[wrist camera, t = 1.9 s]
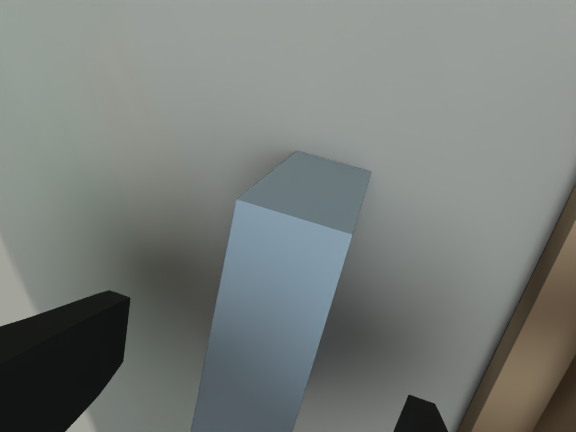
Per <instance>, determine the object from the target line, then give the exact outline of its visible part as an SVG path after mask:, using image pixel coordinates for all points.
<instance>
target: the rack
mask: <svg viewBox="0 0 576 432" xmlns="http://www.w3.org/2000/svg"><path fill="white" fill-rule="evenodd" d="M457 432H576V185H575V187H574V189H573V191H572V193H571V196H570V198H569V200H568V202H567V204H566V206H565V208H564V210H563V212H562V214H561V216H560V218H559V221H558V223H557V225H556V227H555V229H554V231H553V233H552V235H551V237H550V239H549V241H548V244H547V246H546V248H545V250H544V252H543V254H542V256H541V258H540V260H539V262H538V264H537V266H536V269H535V271H534V273H533V275H532V277H531V279H530V281H529V283H528V285H527V287H526V289H525V292H524V294H523V296H522V298H521V300H520V302H519V304H518V306H517V308H516V310H515V312H514V314H513V317H512V319H511V321H510V323H509V325H508V327H507V329H506V331H505V333H504V335H503V337H502V340H501V342H500V344H499V346H498V348H497V350H496V352H495V354H494V356H493V358H492V360H491V362H490V365H489V367H488V369H487V371H486V373H485V375H484V377H483V379H482V381H481V383H480V385H479V388H478V390H477V392H476V394H475V396H474V398H473V400H472V402H471V404H470V406H469V408H468V410H467V413H466V415H465V417H464V419H463V421H462V423H461V425H460V427H459V429H458V431H457Z"/></svg>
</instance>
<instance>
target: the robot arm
mask: <svg viewBox="0 0 576 432" xmlns="http://www.w3.org/2000/svg"><path fill="white" fill-rule="evenodd" d="M129 306H130V297H127V296H124V295H121V294H118V293H116V292H113V291H110V290H109V291H105V292H102V293H99V294H95V295H93V296H90V297H87V298H84V299H81V300H78V301H75V302H72V303H70V304H67V305H64V306H61V307H58V308H55V309H52V310H50V311H47V312H44V313H41V314H38V315H35V316H33V317H29V318H26V319H23V320H20V321H17V322H14V323H10V324H7V325H4V326H1V327H0V432H65V431H66V430H67V429H68V428H69V427H70V426H71V425H72V424H73V423H74V422H75V421H76V420H77V418H78V417H79V416H80V415H81V414H82V413H83V412H84V411H85V410H86V409H87V408H88V407H89V406H90V404H91V403H92V402H93V401H94V400H95V399H96V398H97V397H98V396H99V394H100V393H101V392H102V390H103V389H104V388H105V386H106V385H107V384H108V382H109V381H110V380H111V378H112V377H113V375H114V374H115V373H116V371H117V370H118V368H119V367H120V365H121V364H122V363H123V359H124V350H125V341H126V333H127V324H128V315H129ZM394 432H448V430H447V428H446V426H445V424H444V422H443V420H442V417H441V415H440V413H439V411H438V409H437V407H436V405H435V404H434V403H431V402H428V401H425V400H423V399H420V398H417V397H414V396H411V395H408V398H407V400H406V403H405V405H404V407H403V410H402V412H401V415H400V417H399V419H398V422H397V424H396V427H395V429H394Z"/></svg>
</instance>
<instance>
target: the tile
mask: <svg viewBox="0 0 576 432" xmlns="http://www.w3.org/2000/svg"><path fill="white" fill-rule="evenodd" d="M370 175H371V171H368V170H364V169H361V168H357V167H353V166H350V165H346V164H343V163H339V162H336V161H332V160H328V159H325V158H321V157H318V156H314V155H311V154H307V153H304V152H300V151H297V152H295V153H294V154H293V155H292V156H290V157H289V158H288V159H287V160H285V161H284V162H283V163H282V164H280V165H279V166H278V167H277V168H275V169H274V170H273V171H272V172H270V173H269V174H268V175H266V176H265V177H264V178H263V179H261V180H260V181H259V182H258V183H256V184H255V185H254V186H253V187H251V188H250V189H249V190H248V191H246V192H245V193H244V194H243V195H241V196H240V197H239V198H238V199H236V204H235V209H234V215H233V220H232V225H231V230H230V235H229V240H228V245H227V250H226V255H225V260H224V265H223V270H222V275H221V280H220V286H219V291H218V296H217V301H216V306H215V311H214V316H213V321H212V326H211V331H210V336H209V341H208V346H207V351H206V357H205V362H204V367H203V372H202V377H201V382H200V387H199V392H198V397H197V402H196V407H195V412H194V417H193V423H192V428H191V432H292V431H293V428H294V425H295V422H296V418H297V415H298V412H299V409H300V405H301V402H302V399H303V395H304V392H305V389H306V386H307V382H308V379H309V376H310V372H311V369H312V366H313V363H314V359H315V356H316V353H317V349H318V346H319V343H320V340H321V336H322V333H323V330H324V327H325V323H326V320H327V317H328V313H329V310H330V307H331V304H332V300H333V297H334V294H335V290H336V287H337V284H338V281H339V277H340V274H341V271H342V267H343V264H344V261H345V258H346V254H347V251H348V248H349V245H350V241H351V238H352V235H353V231H354V228H355V225H356V221H357V218H358V215H359V211H360V208H361V205H362V201H363V198H364V195H365V191H366V188H367V185H368V182H369V178H370Z"/></svg>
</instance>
